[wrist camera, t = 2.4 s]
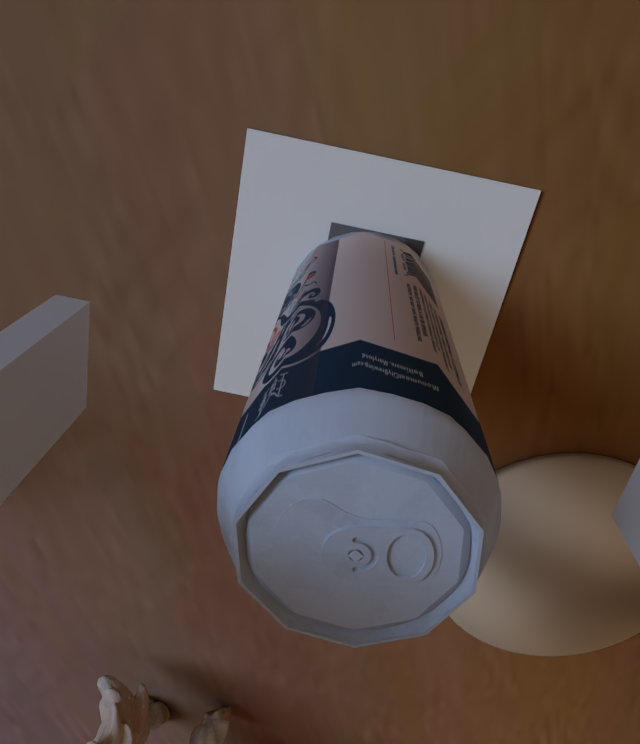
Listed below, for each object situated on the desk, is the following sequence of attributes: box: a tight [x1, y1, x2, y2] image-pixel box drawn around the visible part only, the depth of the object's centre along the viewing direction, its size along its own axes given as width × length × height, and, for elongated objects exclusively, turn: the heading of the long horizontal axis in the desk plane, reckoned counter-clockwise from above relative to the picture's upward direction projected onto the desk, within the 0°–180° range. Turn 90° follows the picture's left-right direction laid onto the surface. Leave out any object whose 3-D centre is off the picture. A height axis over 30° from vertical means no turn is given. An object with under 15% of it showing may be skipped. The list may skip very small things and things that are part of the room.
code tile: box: [214, 128, 541, 397], centre depth 20 cm, size 9×9×1 cm
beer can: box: [217, 232, 501, 648], centre depth 15 cm, size 5×5×12 cm
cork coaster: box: [449, 453, 640, 656], centre depth 24 cm, size 10×10×1 cm
